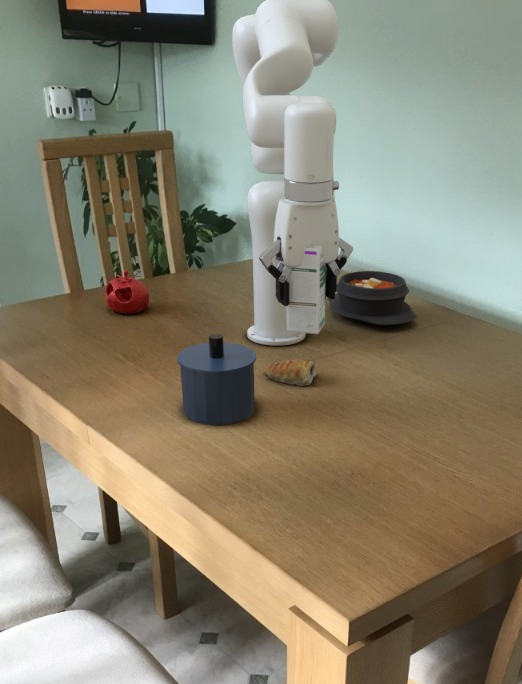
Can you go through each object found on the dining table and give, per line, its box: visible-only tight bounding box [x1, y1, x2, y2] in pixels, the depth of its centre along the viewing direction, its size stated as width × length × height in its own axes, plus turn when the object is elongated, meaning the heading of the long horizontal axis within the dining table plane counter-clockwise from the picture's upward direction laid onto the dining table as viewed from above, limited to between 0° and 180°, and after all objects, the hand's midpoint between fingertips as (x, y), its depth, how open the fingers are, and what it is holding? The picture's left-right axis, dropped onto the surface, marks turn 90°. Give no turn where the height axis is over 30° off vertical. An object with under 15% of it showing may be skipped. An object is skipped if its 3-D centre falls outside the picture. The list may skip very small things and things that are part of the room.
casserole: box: [327, 270, 417, 326], centre depth 187 cm, size 25×19×8 cm
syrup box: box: [286, 245, 327, 335], centre depth 136 cm, size 6×6×14 cm
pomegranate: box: [104, 269, 150, 315], centre depth 187 cm, size 10×10×9 cm
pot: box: [179, 363, 256, 426], centre depth 141 cm, size 12×13×10 cm
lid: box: [176, 333, 257, 374], centre depth 138 cm, size 13×13×5 cm
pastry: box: [265, 358, 317, 387], centre depth 155 cm, size 9×7×4 cm
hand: (306, 299), depth 137 cm, fingers closed on syrup box, 8 cm apart
